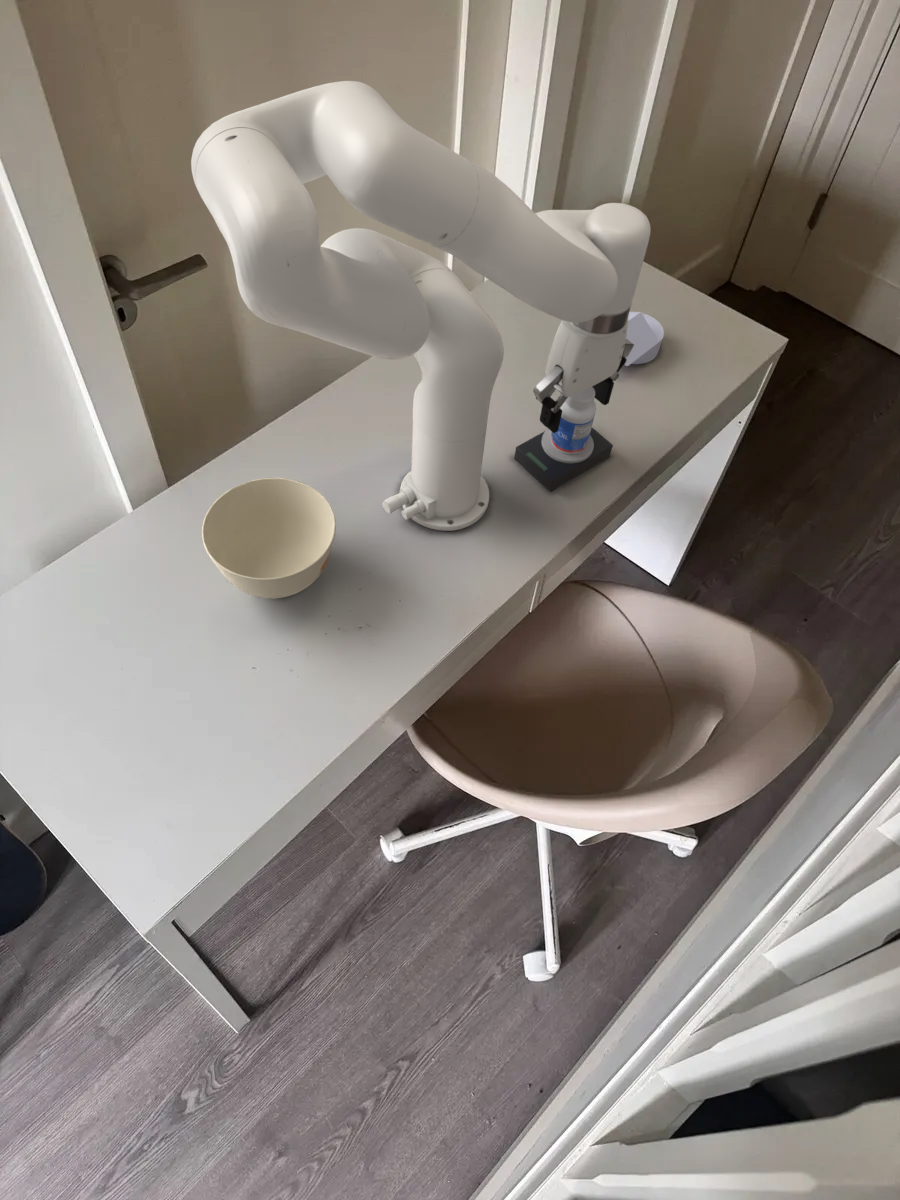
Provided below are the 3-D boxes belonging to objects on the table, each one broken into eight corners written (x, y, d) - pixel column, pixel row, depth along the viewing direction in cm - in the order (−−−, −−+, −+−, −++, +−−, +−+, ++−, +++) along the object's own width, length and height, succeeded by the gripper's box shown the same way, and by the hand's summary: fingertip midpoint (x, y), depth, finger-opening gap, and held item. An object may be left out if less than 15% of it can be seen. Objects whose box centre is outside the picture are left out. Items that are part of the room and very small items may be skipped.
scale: (550, 492, 123) (553, 477, 121) (513, 458, 126) (516, 444, 124) (609, 457, 128) (614, 442, 125) (573, 425, 131) (576, 411, 129)
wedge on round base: (622, 383, 137) (669, 346, 143) (632, 349, 132) (680, 312, 138) (578, 355, 141) (625, 321, 146) (586, 321, 135) (635, 287, 141)
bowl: (279, 509, 119) (271, 458, 110) (365, 571, 113) (363, 522, 105) (189, 579, 111) (173, 529, 103) (276, 648, 106) (267, 602, 98)
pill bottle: (543, 434, 125) (553, 382, 117) (575, 424, 127) (587, 373, 119) (561, 459, 123) (573, 408, 115) (593, 449, 124) (607, 398, 116)
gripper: (626, 270, 111) (599, 374, 125) (526, 317, 104) (509, 421, 118) (668, 300, 108) (636, 403, 122) (568, 351, 101) (546, 454, 115)
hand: (574, 412), depth 120 cm, fingers open, 9 cm apart
